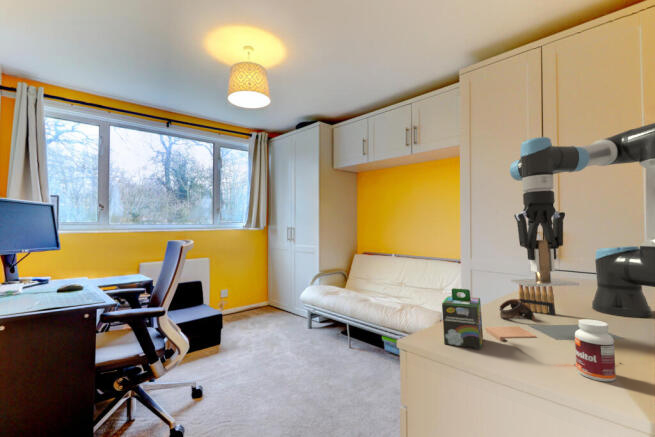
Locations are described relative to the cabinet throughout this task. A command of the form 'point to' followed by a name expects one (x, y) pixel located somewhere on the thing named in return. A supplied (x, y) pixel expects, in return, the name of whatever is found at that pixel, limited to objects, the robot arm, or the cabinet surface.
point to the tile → (508, 333)
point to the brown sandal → (516, 309)
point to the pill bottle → (595, 351)
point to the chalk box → (462, 320)
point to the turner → (543, 270)
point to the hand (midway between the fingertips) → (542, 271)
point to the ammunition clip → (538, 299)
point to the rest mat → (562, 331)
